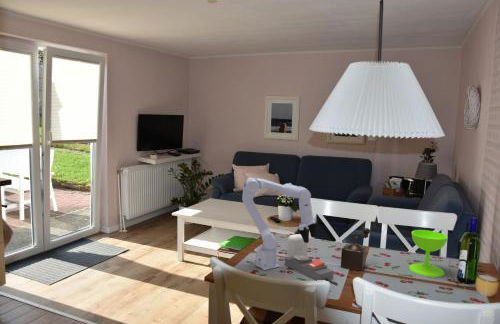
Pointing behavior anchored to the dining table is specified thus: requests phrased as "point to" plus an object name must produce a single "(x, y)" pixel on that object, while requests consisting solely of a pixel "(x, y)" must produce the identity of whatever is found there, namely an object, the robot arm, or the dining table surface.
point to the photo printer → (296, 246)
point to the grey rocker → (301, 257)
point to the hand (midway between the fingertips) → (310, 239)
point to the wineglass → (428, 251)
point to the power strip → (310, 269)
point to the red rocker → (316, 264)
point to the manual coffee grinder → (354, 254)
